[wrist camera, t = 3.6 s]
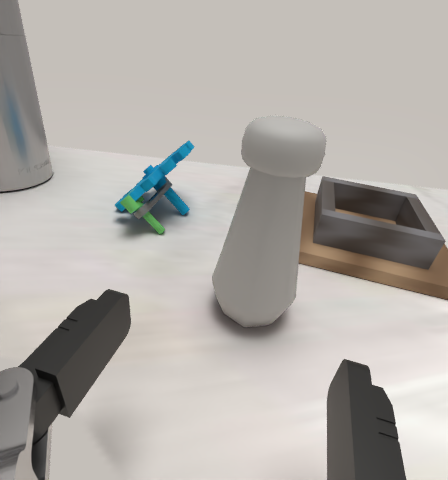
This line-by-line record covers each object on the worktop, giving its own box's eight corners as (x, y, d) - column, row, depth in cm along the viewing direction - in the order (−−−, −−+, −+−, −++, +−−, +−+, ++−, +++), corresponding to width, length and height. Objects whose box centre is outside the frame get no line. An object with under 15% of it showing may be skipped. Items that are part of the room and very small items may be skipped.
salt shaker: (259, 354, 19) (315, 145, 12) (193, 306, 22) (206, 113, 15) (302, 306, 23) (363, 127, 16) (241, 270, 26) (270, 105, 19)
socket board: (275, 257, 28) (285, 216, 26) (289, 197, 40) (297, 165, 37) (467, 304, 25) (497, 264, 23) (422, 225, 37) (440, 193, 35)
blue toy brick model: (143, 170, 38) (198, 122, 32) (176, 206, 40) (234, 168, 34) (86, 221, 29) (145, 170, 24) (130, 264, 31) (196, 226, 25)
